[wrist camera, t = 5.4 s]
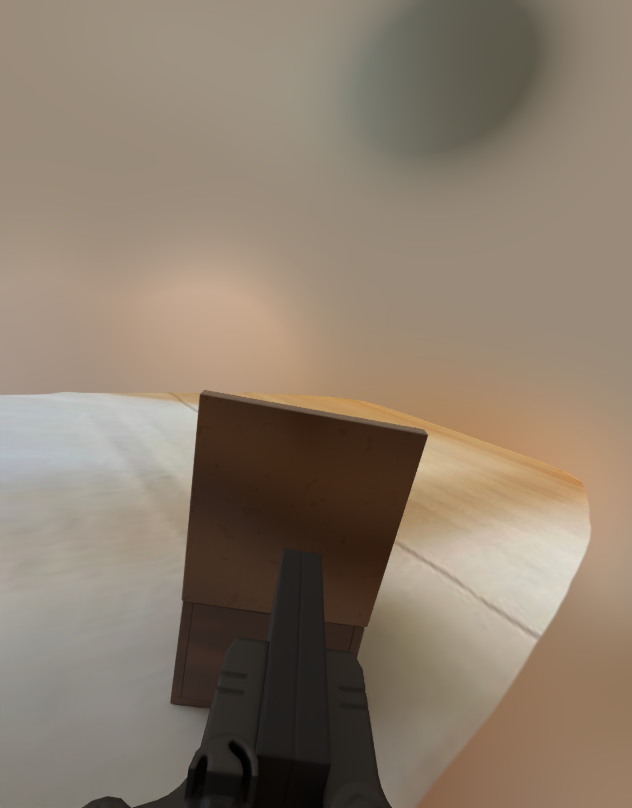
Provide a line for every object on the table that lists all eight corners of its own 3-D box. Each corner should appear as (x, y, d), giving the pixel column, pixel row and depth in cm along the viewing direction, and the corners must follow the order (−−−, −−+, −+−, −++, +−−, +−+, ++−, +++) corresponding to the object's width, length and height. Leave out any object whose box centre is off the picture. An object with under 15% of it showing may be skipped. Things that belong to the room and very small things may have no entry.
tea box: (218, 573, 38) (228, 502, 36) (329, 590, 39) (345, 521, 37) (169, 703, 25) (182, 601, 23) (339, 725, 26) (365, 628, 24)
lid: (204, 389, 19) (199, 393, 18) (424, 429, 20) (428, 435, 19) (185, 590, 23) (181, 601, 23) (365, 617, 24) (367, 627, 23)
